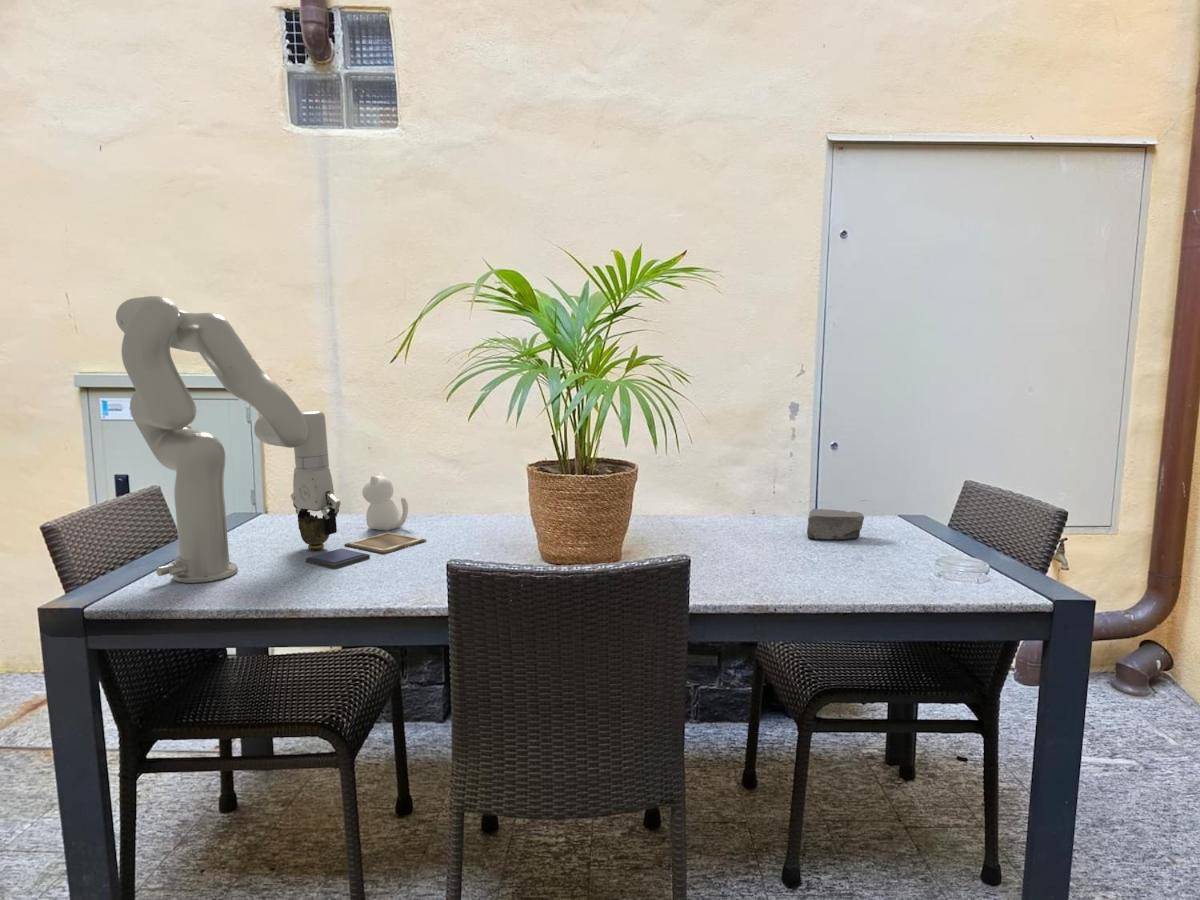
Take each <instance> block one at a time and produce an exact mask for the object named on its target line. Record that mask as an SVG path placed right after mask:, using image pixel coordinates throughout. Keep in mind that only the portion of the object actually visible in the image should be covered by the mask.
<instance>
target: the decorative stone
mask: <svg viewBox="0 0 1200 900" xmlns="http://www.w3.org/2000/svg"><path fill="white" fill-rule="evenodd" d="M864 519H865V516H864V514H863V513H862V512H859V511H853V510H852V511H846V510H841V509H840V510H838V509H824V508H821V509H819V508H812V509H811V510H810V512H809V515H808V518H807V529H806V534H807V539H808V540H811V541H820V542H821V541H822V542H823V541H825V542H828V541H829V542H844V541H854V540H857V539H858V538H859V537H860V532H861V530H862V528H863V524H864Z"/></svg>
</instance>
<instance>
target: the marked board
mask: <svg viewBox="0 0 1200 900" xmlns="http://www.w3.org/2000/svg"><path fill="white" fill-rule="evenodd" d="M424 541H426V542H427V539H426V538H421V537H417V536H416V537H415V536H411V535H410V536H409V535H405V534H400V533H394V532H390V531H387V532H384V533H380V534H376V535H372V536H369V537H365V538H361V539H358V540H354V541H349V542H347V543H344V546H345V547H347V546H349V547H348V548H352V547H353V548H352V549H356V548H358V549H357V550H361V549H363V550H362V551H365V550H367V551H366V552H370V551H372V552H371V553H376V554H379V553H380V555H386V554H388V553H392V551H393V552H396V551H398V550H399V551H400V550H402V548H403V549H406V548H409V547H412V545H413V546H416V545H419V544H422V543H421V542H423V543H425V542H424ZM418 543H419V544H418ZM415 544H416V545H415ZM408 546H409V547H408ZM405 547H406V548H405ZM385 553H386V554H385Z"/></svg>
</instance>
